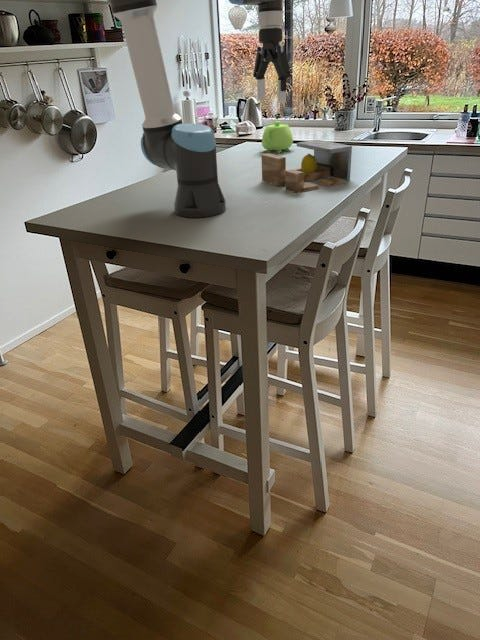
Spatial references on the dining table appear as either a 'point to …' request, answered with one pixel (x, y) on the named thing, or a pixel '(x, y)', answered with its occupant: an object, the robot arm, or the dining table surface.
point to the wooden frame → (277, 166)
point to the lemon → (308, 164)
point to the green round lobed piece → (277, 137)
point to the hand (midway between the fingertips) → (271, 101)
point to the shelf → (331, 156)
